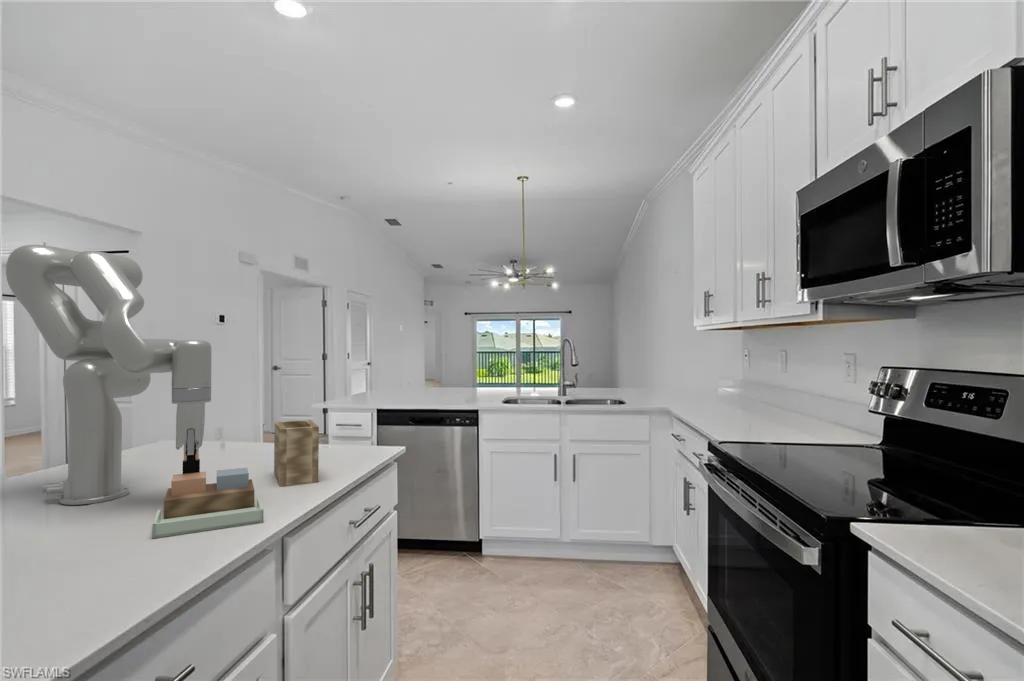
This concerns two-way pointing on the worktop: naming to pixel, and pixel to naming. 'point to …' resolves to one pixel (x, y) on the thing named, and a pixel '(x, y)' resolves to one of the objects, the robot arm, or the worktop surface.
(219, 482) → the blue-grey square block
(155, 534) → the tray
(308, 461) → the utensil caddy
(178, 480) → the terracotta tile
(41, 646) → the worktop surface
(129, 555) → the worktop surface
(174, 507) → the walnut board
